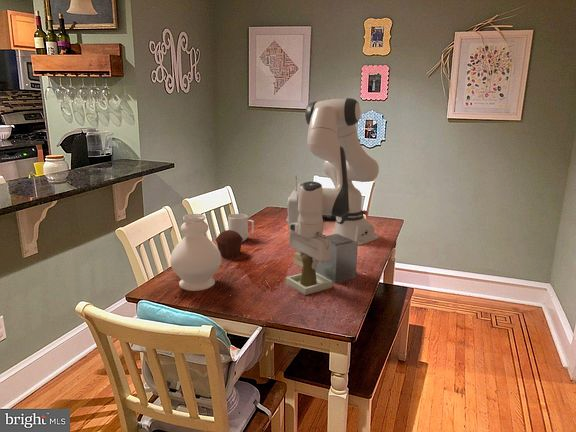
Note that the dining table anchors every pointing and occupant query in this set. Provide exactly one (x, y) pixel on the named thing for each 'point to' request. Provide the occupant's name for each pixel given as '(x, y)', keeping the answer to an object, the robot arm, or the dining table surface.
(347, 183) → the robot arm
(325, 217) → the supplement container
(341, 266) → the box
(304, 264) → the cork
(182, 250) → the decorative vase
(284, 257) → the dining table surface
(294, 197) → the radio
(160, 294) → the dining table surface
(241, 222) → the mug
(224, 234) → the muffin
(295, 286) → the tray
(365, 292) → the dining table surface
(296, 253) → the maple block
